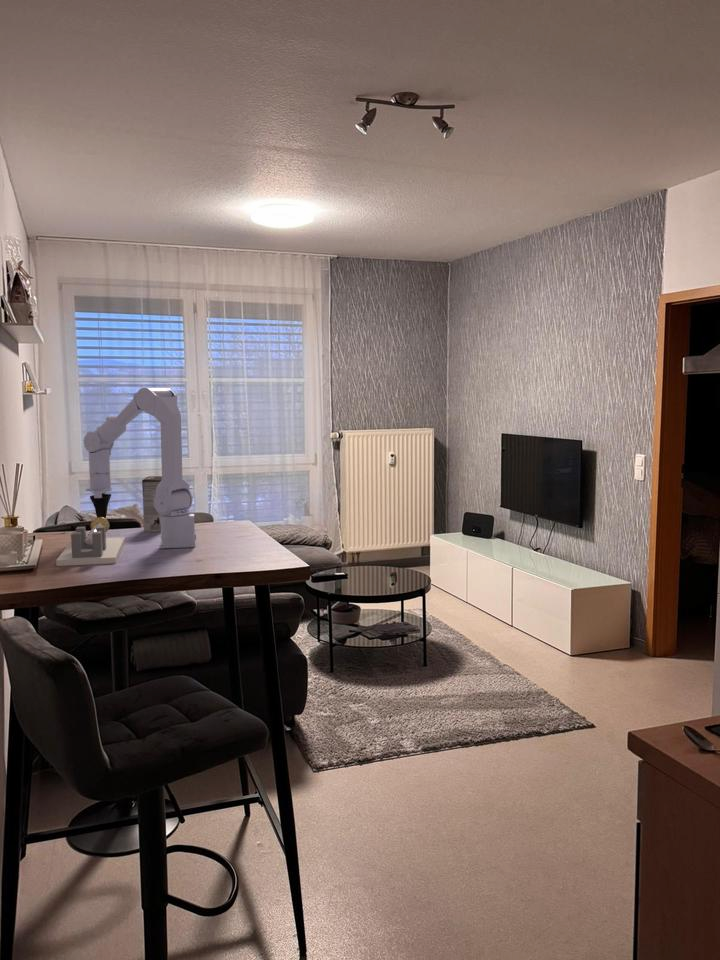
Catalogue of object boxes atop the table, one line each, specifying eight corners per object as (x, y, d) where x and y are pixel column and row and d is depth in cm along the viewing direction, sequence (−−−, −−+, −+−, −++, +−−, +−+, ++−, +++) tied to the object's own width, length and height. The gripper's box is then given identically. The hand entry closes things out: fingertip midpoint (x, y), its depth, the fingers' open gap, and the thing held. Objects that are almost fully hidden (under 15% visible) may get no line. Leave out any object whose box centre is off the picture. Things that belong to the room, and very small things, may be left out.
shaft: (109, 533, 223) (108, 516, 222) (100, 549, 200) (99, 530, 200) (91, 534, 222) (90, 517, 221) (79, 550, 199) (79, 531, 199)
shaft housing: (124, 542, 220) (123, 516, 219) (115, 563, 194) (114, 533, 193) (72, 544, 217) (71, 518, 216) (56, 566, 191) (55, 536, 190)
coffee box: (150, 526, 246) (148, 476, 244) (170, 526, 246) (168, 475, 244) (143, 531, 237) (141, 479, 235) (164, 531, 237) (162, 479, 235)
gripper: (88, 470, 231) (90, 515, 233) (81, 476, 217) (83, 523, 219) (113, 470, 233) (115, 514, 234) (108, 475, 219) (110, 523, 220)
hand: (101, 519), depth 227 cm, fingers closed
